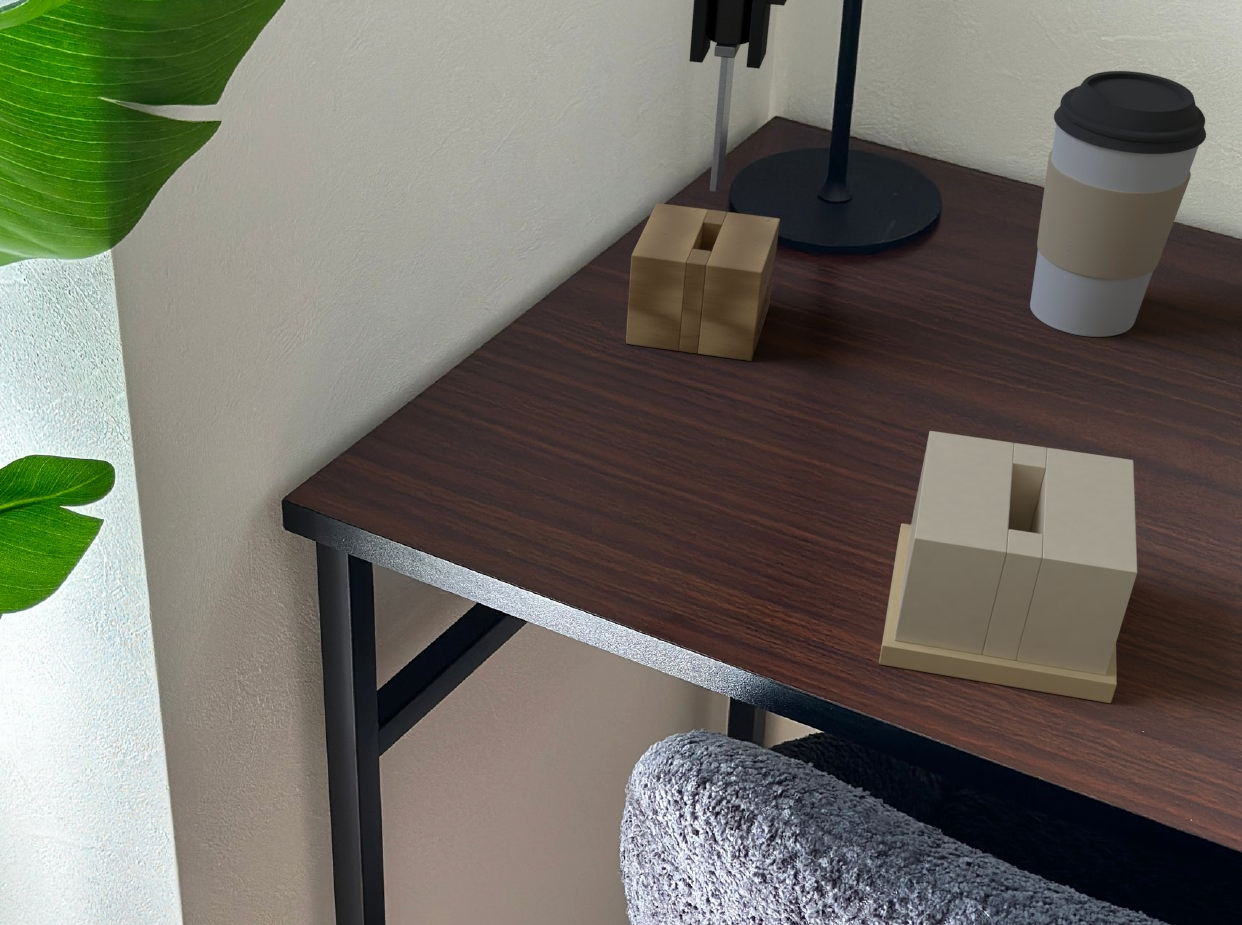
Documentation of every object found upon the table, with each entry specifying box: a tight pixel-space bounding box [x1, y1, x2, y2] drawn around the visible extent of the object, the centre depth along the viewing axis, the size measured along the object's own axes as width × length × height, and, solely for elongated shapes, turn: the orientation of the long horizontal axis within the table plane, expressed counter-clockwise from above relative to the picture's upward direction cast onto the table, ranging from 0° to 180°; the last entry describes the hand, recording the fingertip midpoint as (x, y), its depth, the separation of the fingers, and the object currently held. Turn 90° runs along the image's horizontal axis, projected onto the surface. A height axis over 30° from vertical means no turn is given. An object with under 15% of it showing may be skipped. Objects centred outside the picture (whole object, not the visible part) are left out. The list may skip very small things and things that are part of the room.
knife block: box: [625, 202, 781, 362], centre depth 108 cm, size 8×8×6 cm
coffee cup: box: [1029, 70, 1207, 338], centre depth 108 cm, size 9×9×15 cm
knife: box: [707, 0, 753, 193], centre depth 98 cm, size 3×3×18 cm
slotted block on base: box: [878, 430, 1138, 704], centre depth 84 cm, size 11×11×7 cm
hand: (728, 56), depth 99 cm, fingers closed on knife, 3 cm apart
